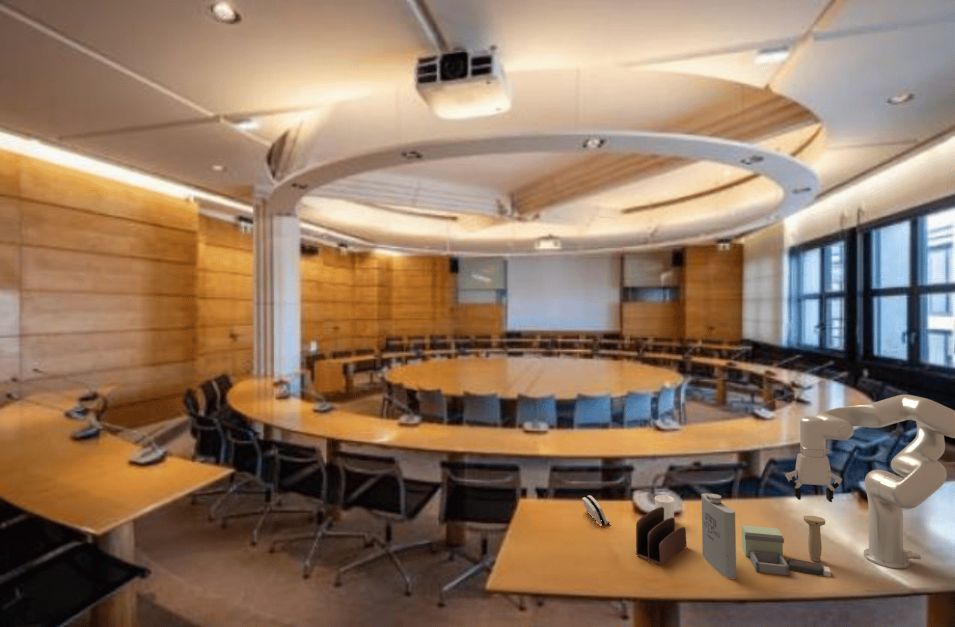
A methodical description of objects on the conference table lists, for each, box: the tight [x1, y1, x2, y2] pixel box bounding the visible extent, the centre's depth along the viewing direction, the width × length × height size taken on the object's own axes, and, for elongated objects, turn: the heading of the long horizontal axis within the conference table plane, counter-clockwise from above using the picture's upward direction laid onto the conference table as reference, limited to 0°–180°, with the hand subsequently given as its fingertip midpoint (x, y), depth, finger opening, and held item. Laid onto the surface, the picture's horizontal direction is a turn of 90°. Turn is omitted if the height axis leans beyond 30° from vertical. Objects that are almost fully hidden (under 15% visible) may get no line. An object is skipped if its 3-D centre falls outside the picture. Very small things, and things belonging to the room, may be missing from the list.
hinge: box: [581, 494, 611, 525], centre depth 216 cm, size 17×5×10 cm, turn 8°
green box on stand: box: [741, 524, 790, 576], centre depth 177 cm, size 12×16×9 cm
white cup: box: [654, 494, 675, 520], centre depth 211 cm, size 8×8×10 cm
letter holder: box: [635, 507, 687, 566], centre depth 186 cm, size 10×20×14 cm, turn 131°
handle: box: [803, 515, 826, 563], centre depth 177 cm, size 5×6×15 cm
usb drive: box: [787, 557, 832, 577], centre depth 171 cm, size 5×12×3 cm, turn 62°
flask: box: [700, 492, 737, 580], centre depth 175 cm, size 17×5×25 cm, turn 4°
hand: (813, 499), depth 177 cm, fingers open, 9 cm apart
